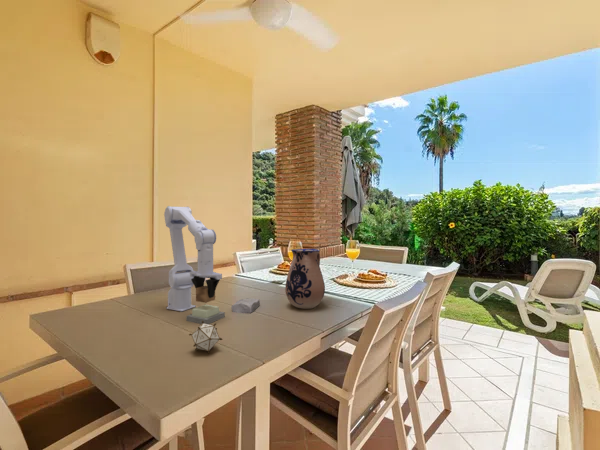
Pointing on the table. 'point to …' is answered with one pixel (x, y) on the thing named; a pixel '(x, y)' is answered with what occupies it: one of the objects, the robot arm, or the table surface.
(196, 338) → the game die
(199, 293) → the walnut cube
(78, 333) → the table surface
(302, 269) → the ceramic pitcher
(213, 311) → the sage block
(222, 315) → the grey square slab
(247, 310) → the stone block
